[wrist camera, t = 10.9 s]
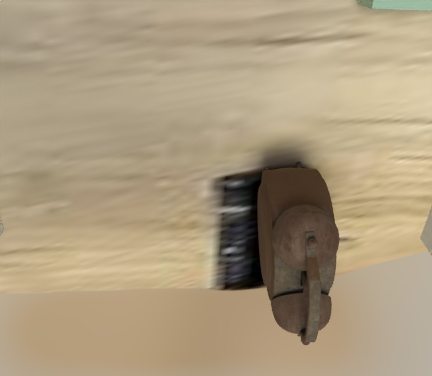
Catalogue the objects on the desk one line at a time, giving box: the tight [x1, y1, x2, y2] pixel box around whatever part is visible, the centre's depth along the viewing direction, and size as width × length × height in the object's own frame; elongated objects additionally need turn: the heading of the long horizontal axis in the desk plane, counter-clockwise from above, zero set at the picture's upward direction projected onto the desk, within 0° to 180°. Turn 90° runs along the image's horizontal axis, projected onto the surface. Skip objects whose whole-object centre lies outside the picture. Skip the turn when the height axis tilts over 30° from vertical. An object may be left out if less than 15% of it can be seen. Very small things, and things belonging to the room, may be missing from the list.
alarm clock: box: [257, 162, 339, 345], centre depth 41 cm, size 15×7×20 cm, turn 3°
